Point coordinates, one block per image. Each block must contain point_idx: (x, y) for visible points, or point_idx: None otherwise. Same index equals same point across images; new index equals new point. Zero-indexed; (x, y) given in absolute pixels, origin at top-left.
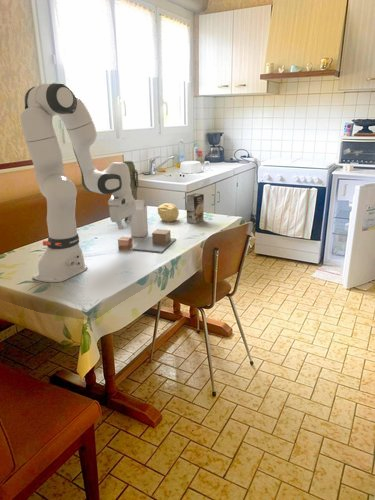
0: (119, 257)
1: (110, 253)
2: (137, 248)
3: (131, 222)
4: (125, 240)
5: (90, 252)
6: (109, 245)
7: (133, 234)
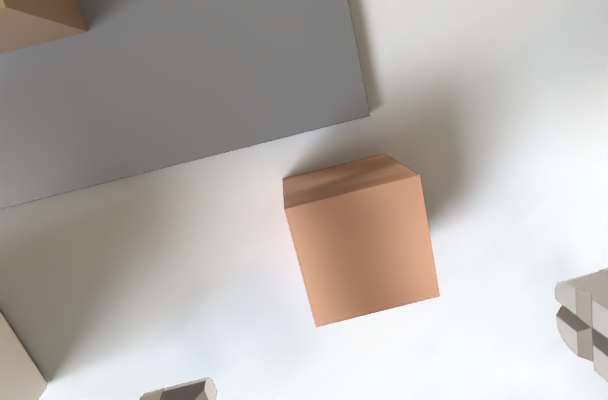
0: (584, 93)
1: (521, 236)
2: (340, 67)
3: (162, 392)
4: (422, 202)
5: (557, 383)
6: (354, 378)
7: (22, 382)
